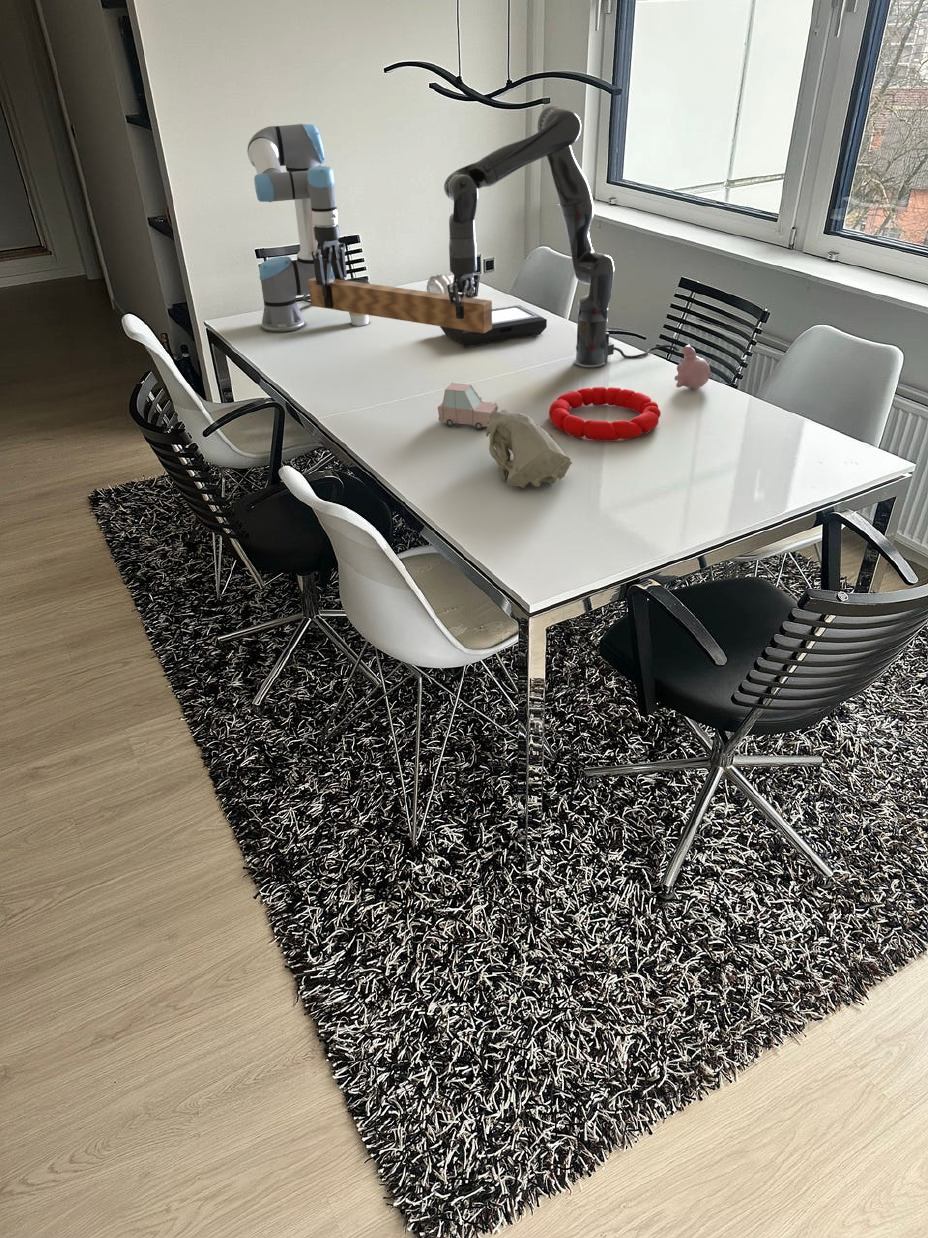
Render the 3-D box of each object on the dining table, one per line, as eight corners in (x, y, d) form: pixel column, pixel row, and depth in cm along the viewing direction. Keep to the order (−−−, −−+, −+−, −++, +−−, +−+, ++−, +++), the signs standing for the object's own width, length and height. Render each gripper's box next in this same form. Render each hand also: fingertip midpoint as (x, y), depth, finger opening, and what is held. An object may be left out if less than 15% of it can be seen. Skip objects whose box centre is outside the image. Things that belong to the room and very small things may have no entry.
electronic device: (462, 330, 295) (438, 315, 310) (462, 349, 298) (439, 333, 313) (546, 317, 305) (520, 303, 320) (546, 335, 309) (520, 320, 324)
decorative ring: (589, 435, 224) (684, 402, 234) (527, 398, 247) (617, 369, 256) (589, 461, 229) (683, 427, 238) (529, 422, 251) (617, 393, 260)
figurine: (665, 387, 264) (669, 347, 257) (693, 380, 268) (698, 340, 261) (686, 396, 257) (690, 355, 250) (714, 388, 262) (720, 348, 255)
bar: (311, 305, 280) (307, 279, 276) (320, 302, 283) (317, 276, 279) (484, 333, 252) (483, 304, 247) (492, 328, 255) (491, 300, 251)
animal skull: (496, 517, 219) (521, 479, 201) (463, 429, 225) (484, 384, 207) (557, 503, 225) (586, 465, 206) (523, 417, 231) (549, 373, 212)
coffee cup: (372, 326, 323) (368, 283, 314) (345, 327, 323) (340, 284, 315) (374, 318, 331) (371, 276, 322) (348, 319, 331) (344, 277, 323)
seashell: (419, 300, 350) (418, 274, 344) (453, 294, 355) (452, 268, 350) (431, 306, 342) (430, 279, 336) (465, 300, 348) (465, 273, 342)
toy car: (488, 432, 240) (488, 396, 234) (436, 426, 244) (434, 390, 239) (499, 419, 247) (499, 384, 241) (448, 413, 252) (447, 379, 246)
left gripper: (316, 231, 257) (326, 313, 270) (354, 220, 269) (361, 299, 282) (296, 229, 260) (307, 310, 274) (334, 218, 272) (342, 296, 286)
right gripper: (460, 260, 239) (462, 324, 249) (487, 249, 249) (488, 311, 258) (437, 257, 242) (440, 321, 252) (465, 246, 252) (466, 308, 262)
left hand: (334, 304), depth 278 cm, fingers closed on bar, 5 cm apart
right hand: (464, 315), depth 255 cm, fingers closed on bar, 4 cm apart
